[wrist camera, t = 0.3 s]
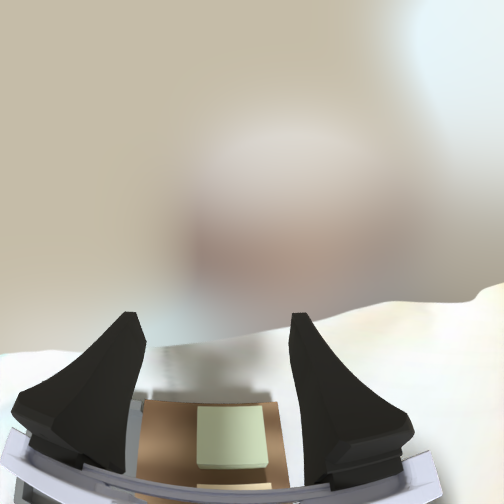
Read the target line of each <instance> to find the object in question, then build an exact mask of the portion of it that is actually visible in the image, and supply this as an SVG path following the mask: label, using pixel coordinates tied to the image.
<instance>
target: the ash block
mask: <svg viewBox="0 0 504 504" xmlns="http://www.w3.org/2000/svg"><path fill="white" fill-rule="evenodd" d="M197 488H204V489H219V490H268V489H272V487H271V483H261V484H243V485H205V484H197ZM197 504H201V503H197Z"/></svg>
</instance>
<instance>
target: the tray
mask: <svg viewBox="0 0 504 504" xmlns="http://www.w3.org/2000/svg"><path fill="white" fill-rule="evenodd" d="M42 382H43V381H42ZM143 409H144V404H143V402H142V401H139V400H131V403H130V408H129V415H128V422H127V431H126V447H125V467H126V472H125V473H124V474H122V475H125V476H129V477H133V478H136V471H137V459H138V449H139V440H140V431H141V423H142V416H143ZM26 435H27V436H29V437H30V438H31V436H32V433H31V432H30V431H29V430H27V431H26ZM110 487H111V488H113V489H116V490H119V491H122V492H125V493H129V494H130V495H132V496H134V497H135V492H131V491H127V490H123V489H120V488H116V487H113V486H110ZM14 503H15V504H62V503H61V502H59V501H57V500H55V499H53V498H51V497H49V496H48V495H46V494H44V493H42V492H41V491H39V490H37V489H36V488H34V487H32V486H31V485H29V484H28V483H26V482H25V481H23V480H22V479H20V478H19V477H17V479H16V486H15V494H14Z"/></svg>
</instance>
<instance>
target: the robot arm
mask: <svg viewBox="0 0 504 504" xmlns="http://www.w3.org/2000/svg"><path fill="white" fill-rule="evenodd" d="M146 342H147V341H146V339H145V336H144V333H143V331H142V328H141V325H140V322H139V320H138V317H137V314H136V312H124V313H123V314H122V315H121V316H120V317H119V318H118V319H117V320H116V321H115V322H114V323H113V324H112V325H111V326H110V327H109V328H108V329H107V330H106V331H105V332H104V333H103V335H102V336H100V337H99V338H98V340H97V341H96V342H94V343H93V344H92V345H91V346H90V347H89V348H88V349H87V350H86V351H85V352H84V353H83V354H82V355H80V356H79V357H78V358H77V359H76V360H74V361H73V362H72V363H71V364H69V365H68V366H67V367H65V368H64V369H62V370H61V371H60V372H58V373H57V374H55V375H54V376H52V377H50V378H49V379H47V380H45V381H43V382H42V383H40V384H38V385H36V386H34V387H31V388H29V389H27V390H25V391H22V392H20V393H19V395H18V397H17V399H16V401H15V404H14V406H13V408H12V410H11V413H12V415H13V417H14V418H15V419H16V420H17V421H18V422H19V423H20V424H22V425H23V426H24V427H25V428H26V429H27V430H29V431H30V432H31V433H32V436H31V438H30V437H29V436H27V435H26V434H24V433H22V432H20V431H18V430H17V429H15V428H13V427H12V428H11V430H10V433H9V435H8V438H7V441H6V444H5V447H4V450H3V453H2V456H1V459H0V465H1V466H3V467H4V468H5V469H7V470H8V471H10V472H11V473H13V474H14V475H16V476H17V477H19V478H20V479H22V480H23V481H25V482H26V483H28V484H29V485H31V486H32V487H34V488H36V489H37V490H39V491H41V492H42V493H44V494H46V495H48V496H49V497H51V498H53V499H55V500H57V501H59V502H61V503H62V504H147V501H145V500H142V499H139V498H136V497H134V496H132V495H130V494H129V493H125V492H122V491H119V490H116V489H113V488H111V487H110V486H113V487H116V488H120V489H123V490H127V491H131V492H135V493H139V494H144V495H148V496H153V497H158V498H164V499H170V500H176V501H184V502H192V503H201V504H287V503H297V502H300V503H299V504H426V503H428V502H430V501H432V500H434V499H436V498H438V497H440V496H442V495H443V492H442V488H441V484H440V481H439V477H438V474H437V470H436V467H435V464H434V461H433V458H432V454H431V451H429V450H428V451H425V452H423V453H420V454H418V455H415V456H413V457H410V458H407V459H405V460H403V461H401V458H400V456H401V455H402V449H401V447H402V446H403V445H404V444H405V443H407V442H408V441H409V440H410V439H411V438H412V437H413V435H414V433H415V431H414V428H413V425H412V423H411V420H410V419H409V417H408V415H407V413H405V412H404V411H402V410H400V409H398V408H397V407H395V406H393V405H391V404H390V403H388V402H387V401H385V400H384V399H382V398H381V397H380V396H378V395H377V394H376V393H374V392H373V391H372V390H371V389H369V388H368V387H367V386H366V385H364V384H363V383H362V382H361V381H360V380H359V379H358V378H357V377H356V376H355V375H354V374H353V373H352V372H351V371H350V370H349V369H348V368H347V367H346V366H345V365H344V364H343V363H342V362H341V361H340V360H339V358H338V357H337V356H336V355H335V354H334V352H333V351H332V350H331V349H330V347H329V346H328V344H327V343H326V342H325V340H324V339H323V338H322V336H321V335H320V333H319V332H318V330H317V329H316V327H315V326H314V324H313V323H312V321H311V319H310V318H309V316H308V314H307V313H292V319H291V327H290V335H289V343H288V344H289V355H290V364H291V369H292V373H293V378H294V382H295V387H296V392H297V396H298V401H299V406H300V414H301V424H302V437H303V452H304V485H305V486H303V487H294V488H284V489H268V490H219V489H204V488H193V487H184V486H176V485H170V484H163V483H158V482H152V481H147V480H142V479H138V478H133V477H129V476H125V475H122V474H124V473H125V472H126V467H125V447H126V431H127V422H128V415H129V408H130V403H131V399H132V395H133V392H134V388H135V385H136V382H137V379H138V375H139V372H140V369H141V366H142V362H143V359H144V353H145V348H146Z"/></svg>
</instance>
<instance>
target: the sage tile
mask: <svg viewBox="0 0 504 504" xmlns="http://www.w3.org/2000/svg"><path fill="white" fill-rule="evenodd" d="M268 463H269V462H268V454H267V445H266V437H265V428H264V419H263V411H262V406H238V407H209V406H198V409H197V465H198V467H199V468H200V469H255V468H266V466H267V464H268Z"/></svg>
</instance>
